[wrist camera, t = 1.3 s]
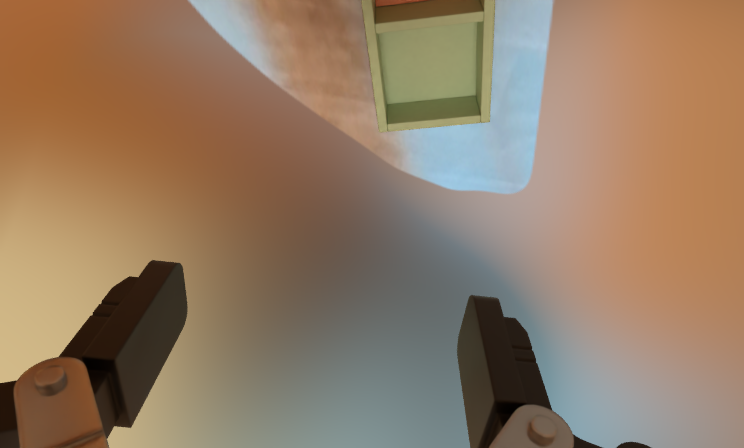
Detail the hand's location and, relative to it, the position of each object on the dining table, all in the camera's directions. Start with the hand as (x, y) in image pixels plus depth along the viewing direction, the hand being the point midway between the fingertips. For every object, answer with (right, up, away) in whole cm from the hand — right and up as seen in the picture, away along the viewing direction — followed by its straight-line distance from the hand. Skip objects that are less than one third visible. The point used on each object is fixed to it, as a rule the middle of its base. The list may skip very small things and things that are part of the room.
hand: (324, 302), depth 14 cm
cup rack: (+5, +18, +22) cm, 29 cm away
